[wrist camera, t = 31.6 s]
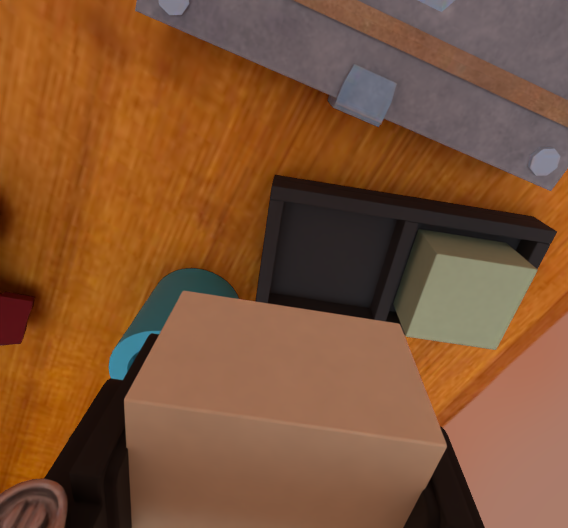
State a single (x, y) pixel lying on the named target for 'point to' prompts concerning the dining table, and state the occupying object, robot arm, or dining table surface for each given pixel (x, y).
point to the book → (414, 66)
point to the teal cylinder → (163, 312)
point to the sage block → (461, 289)
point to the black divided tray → (365, 244)
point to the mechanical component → (14, 317)
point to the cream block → (277, 420)
